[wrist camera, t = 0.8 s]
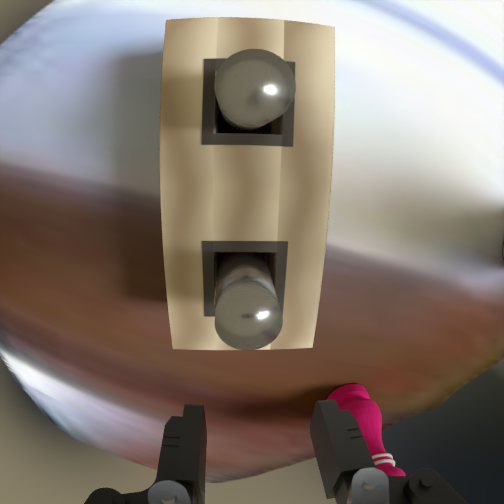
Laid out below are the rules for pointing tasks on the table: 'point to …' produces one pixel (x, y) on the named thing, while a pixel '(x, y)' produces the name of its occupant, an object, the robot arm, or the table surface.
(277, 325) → the peg
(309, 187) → the collar block
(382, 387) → the table surface
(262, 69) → the peg
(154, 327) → the table surface
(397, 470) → the pepper mill
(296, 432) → the table surface
